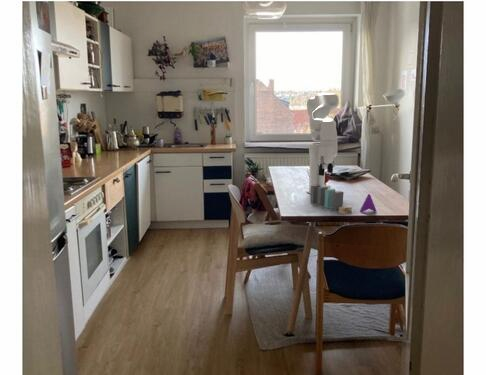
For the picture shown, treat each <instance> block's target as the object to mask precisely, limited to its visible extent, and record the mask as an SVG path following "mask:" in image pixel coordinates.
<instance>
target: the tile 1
mask: <svg viewBox="0 0 486 375" xmlns="http://www.w3.org/2000/svg"><path fill="white" fill-rule="evenodd" d="M318 187H321V185H311V194H310V199H309V202H310V203H311V204H317V198H318Z"/></svg>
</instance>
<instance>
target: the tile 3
mask: <svg viewBox="0 0 486 375" xmlns="http://www.w3.org/2000/svg"><path fill="white" fill-rule="evenodd" d="M343 206H344V191H342V190H336V191H335V192H333V203H332V208H331V210H332V211H334V212H337V211H338V210H339V207H343ZM338 212H339V211H338Z"/></svg>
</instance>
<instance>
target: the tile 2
mask: <svg viewBox="0 0 486 375" xmlns="http://www.w3.org/2000/svg"><path fill="white" fill-rule="evenodd" d="M326 189H328V187H318V198H317V203H316V206H319V205H322V206H325V190H326Z"/></svg>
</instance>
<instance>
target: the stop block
mask: <svg viewBox="0 0 486 375" xmlns="http://www.w3.org/2000/svg"><path fill="white" fill-rule="evenodd" d="M352 208H353V207H352V206H349V205H345V206H344V205H343V207H339V211H338V213H339V214H341V213H342V215H345V213H346V214H351V213H352V211H353V209H352Z"/></svg>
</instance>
